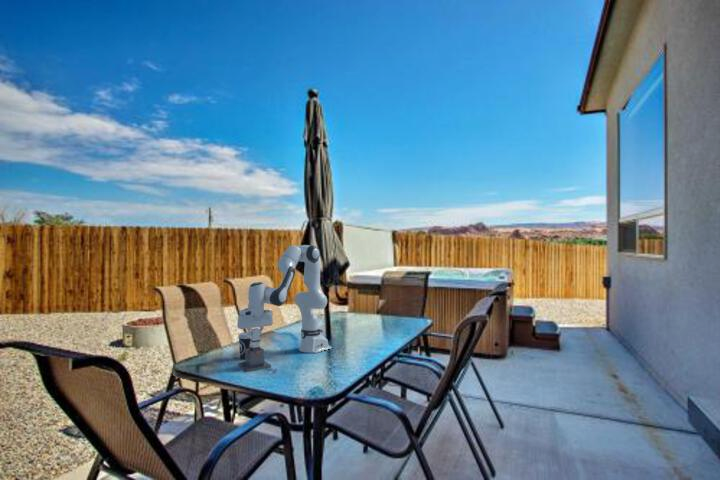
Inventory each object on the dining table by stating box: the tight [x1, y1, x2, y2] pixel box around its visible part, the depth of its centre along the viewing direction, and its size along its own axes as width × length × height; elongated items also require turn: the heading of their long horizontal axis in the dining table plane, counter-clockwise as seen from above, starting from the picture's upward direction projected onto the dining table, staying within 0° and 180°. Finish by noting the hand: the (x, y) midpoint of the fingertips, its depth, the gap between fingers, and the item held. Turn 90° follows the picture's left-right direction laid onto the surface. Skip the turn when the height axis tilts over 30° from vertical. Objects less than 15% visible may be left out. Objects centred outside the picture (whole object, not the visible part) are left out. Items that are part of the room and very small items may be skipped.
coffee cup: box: [237, 331, 250, 361], centre depth 225 cm, size 10×10×15 cm
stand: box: [237, 347, 272, 373], centre depth 208 cm, size 14×14×10 cm
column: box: [250, 327, 261, 351], centre depth 209 cm, size 4×4×16 cm
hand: (255, 334), depth 209 cm, fingers open, 4 cm apart
